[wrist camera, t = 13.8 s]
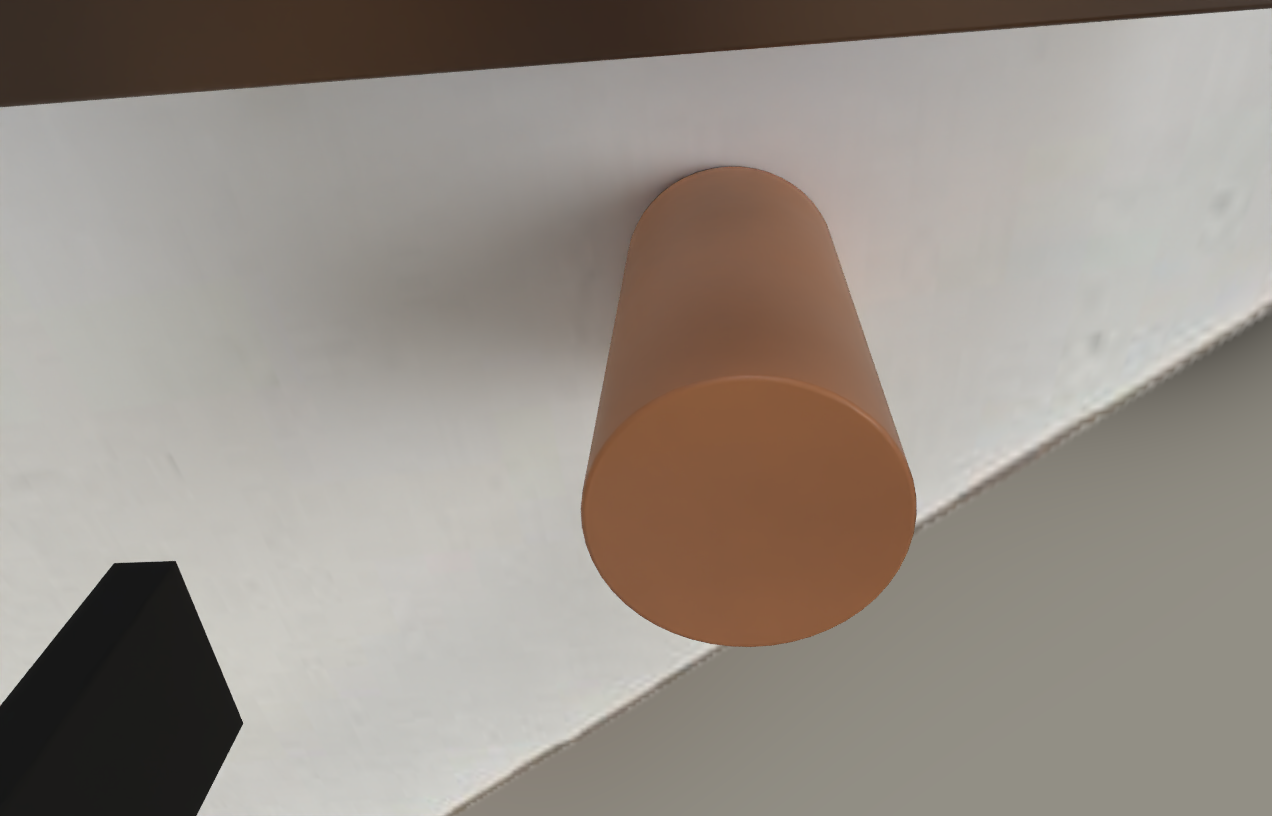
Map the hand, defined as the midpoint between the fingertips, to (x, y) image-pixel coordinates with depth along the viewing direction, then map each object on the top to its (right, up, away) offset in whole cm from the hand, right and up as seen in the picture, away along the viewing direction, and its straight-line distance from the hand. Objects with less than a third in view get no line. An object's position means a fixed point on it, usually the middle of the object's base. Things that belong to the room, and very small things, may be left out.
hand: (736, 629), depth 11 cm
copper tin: (+1, +6, +11) cm, 13 cm away
